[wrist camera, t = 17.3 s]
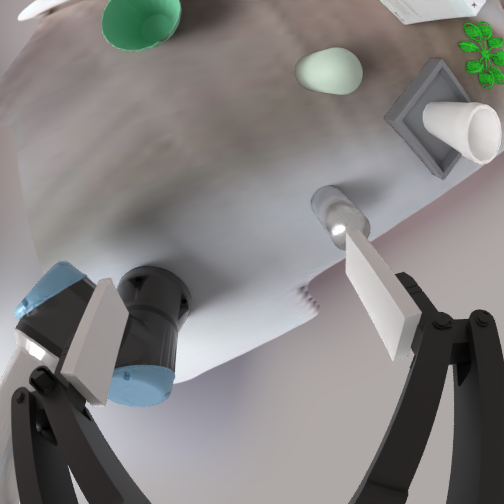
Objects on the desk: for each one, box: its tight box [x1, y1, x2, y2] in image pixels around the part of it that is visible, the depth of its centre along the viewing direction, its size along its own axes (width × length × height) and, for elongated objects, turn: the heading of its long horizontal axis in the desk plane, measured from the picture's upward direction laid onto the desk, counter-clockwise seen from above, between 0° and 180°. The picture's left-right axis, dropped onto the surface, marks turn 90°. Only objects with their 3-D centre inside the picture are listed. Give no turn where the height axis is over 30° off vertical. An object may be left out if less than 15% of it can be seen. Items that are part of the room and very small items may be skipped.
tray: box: [384, 58, 472, 180], centre depth 41 cm, size 16×16×4 cm
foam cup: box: [423, 102, 502, 165], centre depth 36 cm, size 10×9×13 cm
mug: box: [101, 0, 182, 52], centre depth 27 cm, size 15×10×10 cm
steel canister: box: [311, 186, 370, 250], centre depth 45 cm, size 6×6×11 cm
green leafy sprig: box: [459, 21, 504, 89], centre depth 32 cm, size 15×15×7 cm
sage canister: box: [295, 48, 363, 95], centre depth 34 cm, size 6×6×11 cm
